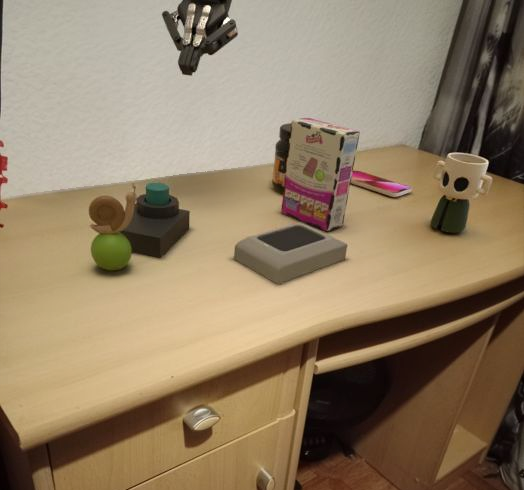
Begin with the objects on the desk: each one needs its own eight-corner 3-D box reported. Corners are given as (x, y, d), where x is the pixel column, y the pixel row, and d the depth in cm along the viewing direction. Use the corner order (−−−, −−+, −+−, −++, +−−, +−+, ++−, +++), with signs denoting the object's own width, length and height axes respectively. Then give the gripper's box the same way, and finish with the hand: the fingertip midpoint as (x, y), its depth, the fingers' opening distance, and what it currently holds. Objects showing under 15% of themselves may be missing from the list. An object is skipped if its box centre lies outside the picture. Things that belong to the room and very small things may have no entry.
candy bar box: (344, 226, 97) (362, 131, 88) (327, 233, 94) (344, 134, 85) (296, 207, 103) (308, 115, 94) (279, 212, 100) (290, 118, 91)
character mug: (411, 222, 102) (429, 152, 95) (432, 215, 106) (451, 147, 99) (462, 243, 96) (486, 169, 88) (482, 235, 100) (506, 164, 93)
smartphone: (356, 169, 124) (413, 187, 116) (355, 174, 125) (412, 192, 117) (337, 175, 119) (395, 194, 111) (336, 179, 120) (394, 198, 112)
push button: (151, 196, 88) (151, 181, 86) (172, 200, 87) (172, 185, 86) (142, 203, 85) (141, 187, 83) (163, 207, 84) (163, 191, 83)
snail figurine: (141, 275, 75) (138, 190, 68) (93, 278, 73) (85, 191, 66) (137, 258, 79) (134, 176, 72) (91, 260, 78) (83, 176, 71)
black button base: (141, 218, 92) (139, 188, 89) (191, 227, 91) (191, 198, 88) (104, 246, 82) (102, 214, 79) (160, 257, 80) (160, 226, 77)
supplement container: (260, 186, 111) (266, 124, 105) (297, 179, 117) (304, 120, 111) (295, 202, 105) (303, 138, 98) (332, 194, 111) (342, 133, 104)
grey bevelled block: (348, 237, 84) (280, 260, 75) (344, 259, 86) (277, 284, 77) (304, 217, 89) (235, 236, 80) (301, 237, 91) (233, 259, 82)
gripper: (169, -46, 86) (138, 48, 83) (249, -37, 84) (221, 60, 81) (181, -6, 93) (153, 82, 90) (255, 3, 91) (229, 93, 88)
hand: (185, 71), depth 86 cm, fingers closed
